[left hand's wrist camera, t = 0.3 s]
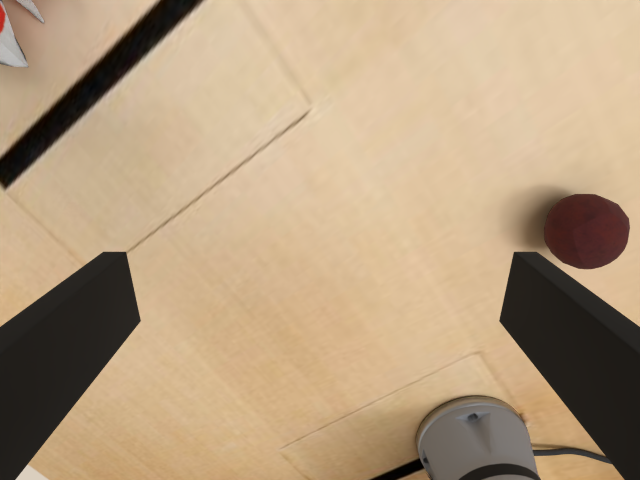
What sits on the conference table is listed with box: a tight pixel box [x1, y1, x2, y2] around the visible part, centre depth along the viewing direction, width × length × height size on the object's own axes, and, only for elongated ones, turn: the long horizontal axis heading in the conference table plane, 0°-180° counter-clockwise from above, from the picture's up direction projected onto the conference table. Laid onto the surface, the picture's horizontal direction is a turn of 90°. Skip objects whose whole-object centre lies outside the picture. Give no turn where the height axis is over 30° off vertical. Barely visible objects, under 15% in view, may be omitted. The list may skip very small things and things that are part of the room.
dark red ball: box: [544, 194, 630, 269], centre depth 38 cm, size 7×8×7 cm
